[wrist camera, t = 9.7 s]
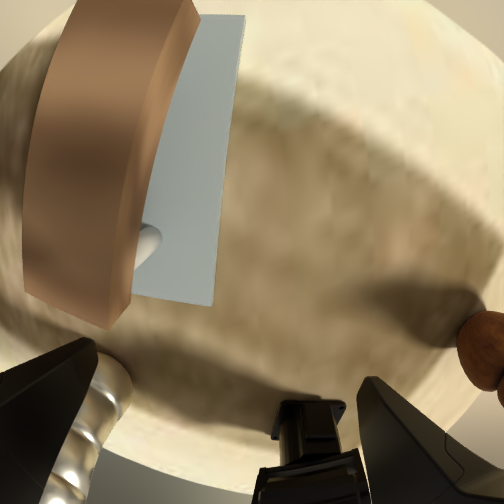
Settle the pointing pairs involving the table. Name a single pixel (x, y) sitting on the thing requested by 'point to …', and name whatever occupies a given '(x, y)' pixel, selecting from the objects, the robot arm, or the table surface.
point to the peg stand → (191, 171)
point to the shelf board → (99, 150)
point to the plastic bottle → (89, 433)
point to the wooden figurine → (483, 351)
